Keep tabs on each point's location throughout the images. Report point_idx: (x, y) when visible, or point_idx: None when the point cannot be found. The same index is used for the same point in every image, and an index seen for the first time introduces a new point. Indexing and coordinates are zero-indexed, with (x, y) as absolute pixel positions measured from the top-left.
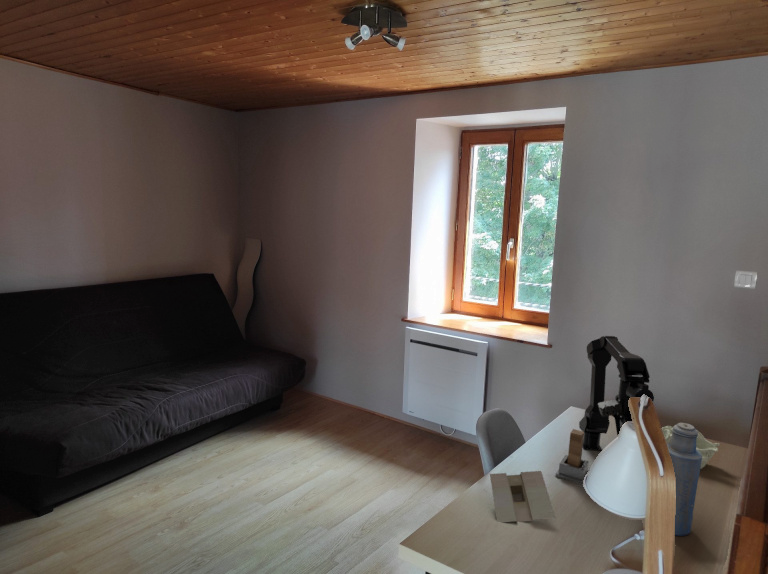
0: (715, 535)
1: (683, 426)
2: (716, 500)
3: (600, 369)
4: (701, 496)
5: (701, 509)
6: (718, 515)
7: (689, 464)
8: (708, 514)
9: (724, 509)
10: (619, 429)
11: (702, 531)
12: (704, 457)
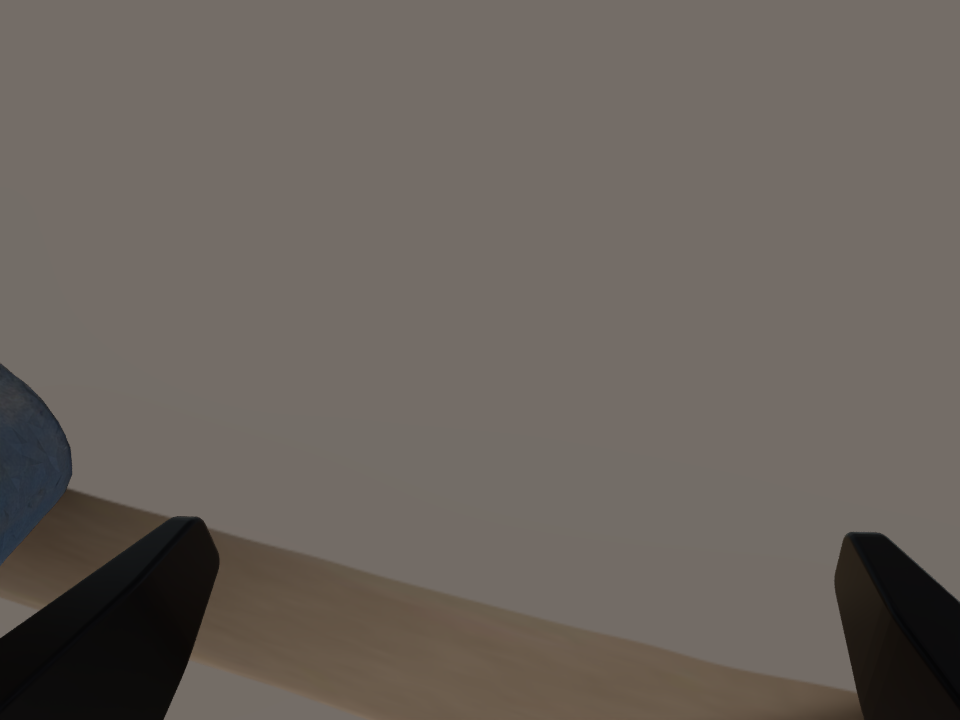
0: (52, 591)
1: None
2: (457, 711)
3: None
4: (474, 670)
5: (304, 622)
6: (281, 666)
7: None
8: (263, 632)
9: (367, 707)
10: (909, 709)
11: (47, 554)
12: None
